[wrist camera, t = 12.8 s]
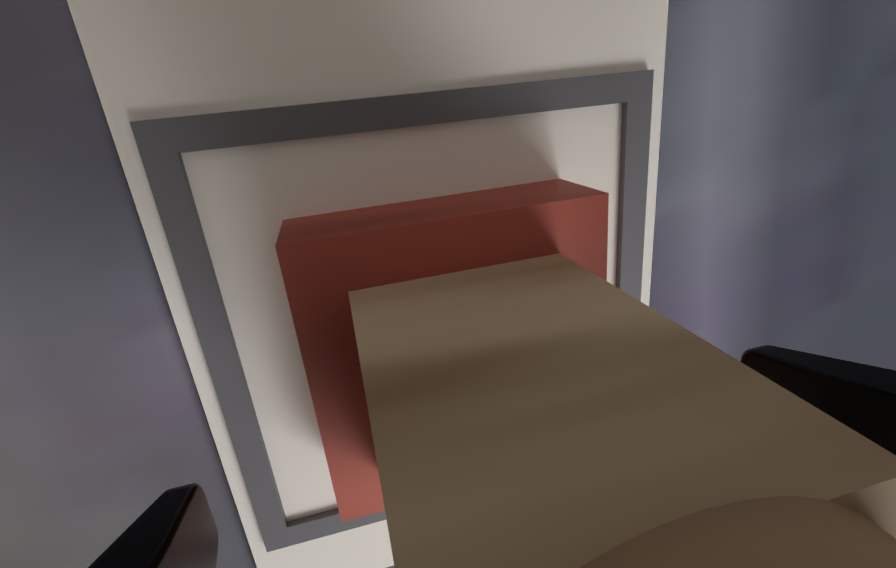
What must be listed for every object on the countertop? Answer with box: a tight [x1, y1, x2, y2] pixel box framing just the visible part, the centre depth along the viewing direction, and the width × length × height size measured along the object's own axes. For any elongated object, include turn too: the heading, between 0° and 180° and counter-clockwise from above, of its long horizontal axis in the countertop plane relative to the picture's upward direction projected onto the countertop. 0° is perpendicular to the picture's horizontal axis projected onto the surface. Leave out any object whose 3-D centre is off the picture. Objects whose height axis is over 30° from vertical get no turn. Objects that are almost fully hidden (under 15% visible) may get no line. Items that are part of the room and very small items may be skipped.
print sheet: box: [67, 0, 669, 568], centre depth 11 cm, size 14×11×1 cm
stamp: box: [275, 179, 896, 568], centre depth 7 cm, size 6×6×9 cm
